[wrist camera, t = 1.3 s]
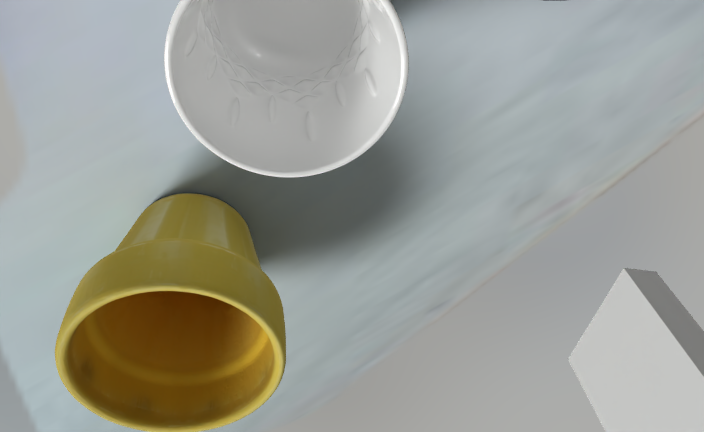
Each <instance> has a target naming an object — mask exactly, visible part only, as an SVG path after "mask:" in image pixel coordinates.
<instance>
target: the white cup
mask: <svg viewBox="0 0 704 432" xmlns="http://www.w3.org/2000/svg"><path fill="white" fill-rule="evenodd" d="M164 65H165V74H166V80H167V85H168V89H169V92H170V95H171V98H172V100H173V103H174V105H175V107H176V109H177V111H178V113H179V115H180V117H181V118H182V120H183V121H184V123H185V124H186V126H187V127H188V128H189V130H190V131H191V132H192V133H193V134H194V136H195V137H196V138H197V139H198V140H199V141H200V142H201V143H202V144H203V145H204V146H206V147H207V148H208V149H209V150H211V151H212V152H213V153H215V154H216V155H217V156H219V157H220V158H222V159H224V160H225V161H227V162H229V163H231V164H233V165H235V166H237V167H240V168H242V169H245V170H248V171H251V172H254V173H258V174H262V175H267V176H274V177H305V176H311V175H316V174H321V173H324V172H328V171H331V170H333V169H336V168H338V167H341V166H343V165H345V164H347V163H349V162H351V161H352V160H354V159H356V158H357V157H359V156H360V155H362V154H363V153H364V152H365V151H367V150H368V149H369V148H370V147H371V146H373V145H374V144H375V143H376V142H377V141H378V140H379V138H380V137H381V136H382V135H383V134H384V133H385V131H386V130H387V129H388V127H389V126H390V124H391V123H392V121H393V119H394V118H395V116H396V114H397V112H398V110H399V108H400V105H401V103H402V100H403V97H404V94H405V90H406V85H407V80H408V70H409V56H408V47H407V41H406V37H405V33H404V30H403V27H402V24H401V21H400V19H399V17H398V14H397V12H396V10H395V9H394V7H393V5H392V3H391V2H390V0H180V2H179V4H178V6H177V7H176V10H175V12H174V14H173V16H172V19H171V21H170V24H169V28H168V32H167V36H166V42H165V51H164Z"/></svg>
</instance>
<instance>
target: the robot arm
mask: <svg viewBox="0 0 704 432" xmlns="http://www.w3.org/2000/svg"><path fill="white" fill-rule="evenodd" d="M568 360H569V362H570V364H571V366H572V368H573V369H574V371H575V374H576V375H577V378H578V380H579V381H580V383H581V385H582V387H583V389H584V391H585V393H586V395H587V397H588V399H589V401H590V402H591V405H592V407H593V408H594V410H595V412H596V414H597V416H598V418H599V420H600V422H601V424H602V426H603V428H604V430H605V431H606V432H704V331H703V330H702V329H701V327H700V326H699V325H698V324H697V322H696V321H695V320H694V319H693V317H692V316H691V315H690V314H689V313H688V311H687V310H686V309H685V307H684V306H683V305H682V304H681V302H680V301H679V300H678V299H677V297H676V296H675V295H674V294H673V292H672V291H671V290H670V289H669V287H668V286H667V285H666V284H665V283H664V281H663V280H662V278H661V277H660V276H659V275H658V273H657V272H654V271H645V270H636V269H628V268H624V269H623V270H622V272H621V274H620V275H619V277H618V278H617V280H616V282H615V283H614V285H613V287H612V288H611V290H610V291H609V293H608V295H607V296H606V298H605V300H604V301H603V303H602V304H601V306H600V308H599V309H598V311H597V313H596V314H595V316H594V318H593V319H592V321H591V322H590V324H589V326H588V327H587V329H586V331H585V332H584V334H583V335H582V337H581V339H580V340H579V342H578V344H577V345H576V347H575V349H574V350H573V352H572V354H571V355H570V357H569V358H568Z"/></svg>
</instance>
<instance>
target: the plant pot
mask: <svg viewBox="0 0 704 432" xmlns="http://www.w3.org/2000/svg"><path fill="white" fill-rule="evenodd" d="M55 360H56V366H57V370H58V373H59V376H60V378H61V380H62V382H63V384H64V385H65V387H66V388H67V390H68V391H69V392H70V393H71V395H72V396H73V397H74V398H75V399H76V400H77V401H78V402H80V403H81V404H82V405H83V406H85V407H86V408H87V409H89V410H90V411H92V412H93V413H95V414H97V415H98V416H100V417H102V418H104V419H106V420H108V421H111V422H113V423H116V424H119V425H122V426H125V427H129V428H133V429H137V430H143V431H150V432H198V431H204V430H210V429H214V428H218V427H221V426H224V425H227V424H230V423H232V422H235V421H237V420H239V419H241V418H243V417H245V416H247V415H249V414H251V413H252V412H254V411H255V410H256V409H258V408H259V407H260V406H261V405H263V404H264V403H265V402H266V401H267V400H268V399H269V398H270V397H271V396H272V394H273V393H274V391H275V390H276V389H277V387H278V385H279V383H280V381H281V379H282V376H283V373H284V369H285V364H286V336H285V322H284V313H283V306H282V303H281V299H280V296H279V294H278V292H277V290H276V288H275V286H274V284H273V283H272V281H271V280H270V279H269V277H268V276H267V275H266V274H265V273H264V272H263V271H262V269H261V266H260V263H259V260H258V257H257V254H256V251H255V248H254V244H253V241H252V237H251V234H250V231H249V228H248V226H247V224H246V222H245V221H244V219H243V218H242V217H241V215H240V214H239V213H238V212H237V211H236V210H235V209H234V208H232V207H231V206H230V205H228V204H227V203H225V202H223V201H221V200H219V199H216V198H214V197H210V196H207V195H202V194H193V193H183V194H175V195H171V196H168V197H165V198H162V199H160V200H158V201H156V202H154V203H153V204H151V205H150V206H149V207H148V208H146V209H145V210H144V212H143V213H142V214H141V215H140V216H139V218H138V219H137V221H136V222H135V224H134V225H133V227H132V228H131V229H130V231H129V232H128V234H127V235H126V236H125V238H124V239H123V241H122V242H121V243H120V245H119V246H118V248H117V249H116V250H115V252H113V253H111V254H109V255H108V256H106V257H104V258H103V259H101V260H100V261H99V262H97V263H96V264H95V265H94V266H93V267H92V268H91V269H90V270H89V271H88V272H87V273H86V274H85V276H84V277H83V278H82V280H81V282H80V283H79V285H78V287H77V289H76V291H75V293H74V295H73V297H72V299H71V301H70V304H69V306H68V308H67V311H66V313H65V316H64V319H63V321H62V324H61V327H60V330H59V333H58V337H57V341H56V347H55Z"/></svg>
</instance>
